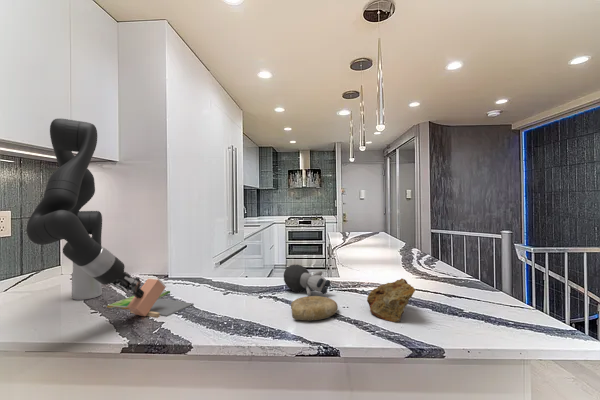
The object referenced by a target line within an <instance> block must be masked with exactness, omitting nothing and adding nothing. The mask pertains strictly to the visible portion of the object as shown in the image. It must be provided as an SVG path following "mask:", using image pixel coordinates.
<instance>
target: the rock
mask: <svg viewBox="0 0 600 400" xmlns="http://www.w3.org/2000/svg"><path fill="white" fill-rule="evenodd" d="M415 292H416V289H415V288H414V286H412V285H411V284H409V283H408V281H407V280H406V279H404V278H401V279H397V280H396V281H394V282H393V281H392V282H386V283H384V284H381V285H379V286H378V287H376V288H373V289H372V290H371V291H370V292H369V294H368V295H367V298H366V302H367V304H368V306H369V311H370V313H371V314H372V315H374V316H375V317H377V318H379V319H382V320H384V321H389V322H393V323H397V322H399V323H400V321H401V319H402V316H403V314H404V313H405V309H406V307H407V306H408V305H409V300H410V299H411V298H412V297H413V295H414V294H415Z"/></svg>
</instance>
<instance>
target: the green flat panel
mask: <svg viewBox="0 0 600 400" xmlns="http://www.w3.org/2000/svg"><path fill="white" fill-rule="evenodd" d="M170 293H171V290H165V289H164V290H163V292H162V293H161V295H160V296H159V298H162V297H163V296H166V295H168V294H170ZM134 297H135V296H134V295H132V296H128V297H126V298H123V299H121V300H118V301H115V302H113V303H110V304H108V305H106V307H107V308H109V309H118V308H121V309H122V310H129V309H128V308H127V306H128V305H129V303H130V302H131V301H132V299H133V298H134ZM121 309H120V310H121Z"/></svg>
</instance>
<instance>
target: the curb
mask: <svg viewBox="0 0 600 400" xmlns="http://www.w3.org/2000/svg"><path fill="white" fill-rule="evenodd" d="M129 312H130V314H134V313H133V312H132V311H131V310H129ZM145 317H152V318H156V319H158V318H160V317H161V315H160V313H158V312H152V311H149V312H148V314H147V315H146V316H145Z"/></svg>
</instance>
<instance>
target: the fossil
mask: <svg viewBox="0 0 600 400" xmlns="http://www.w3.org/2000/svg"><path fill="white" fill-rule="evenodd" d="M290 309H291V316H292V318H293V319H294V320H297V321H320V320H324V319H327V318H330V317H333V316H334V315H335V314H336V313H337V312H338V309H339V306H338V303H337V302H336V301H335V300H334V299H332V298H329V297H326V296H319V295H311V296H309V295H308V296H302V297H298V298H296V299H294V300H293V301H292V302H291V304H290Z"/></svg>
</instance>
